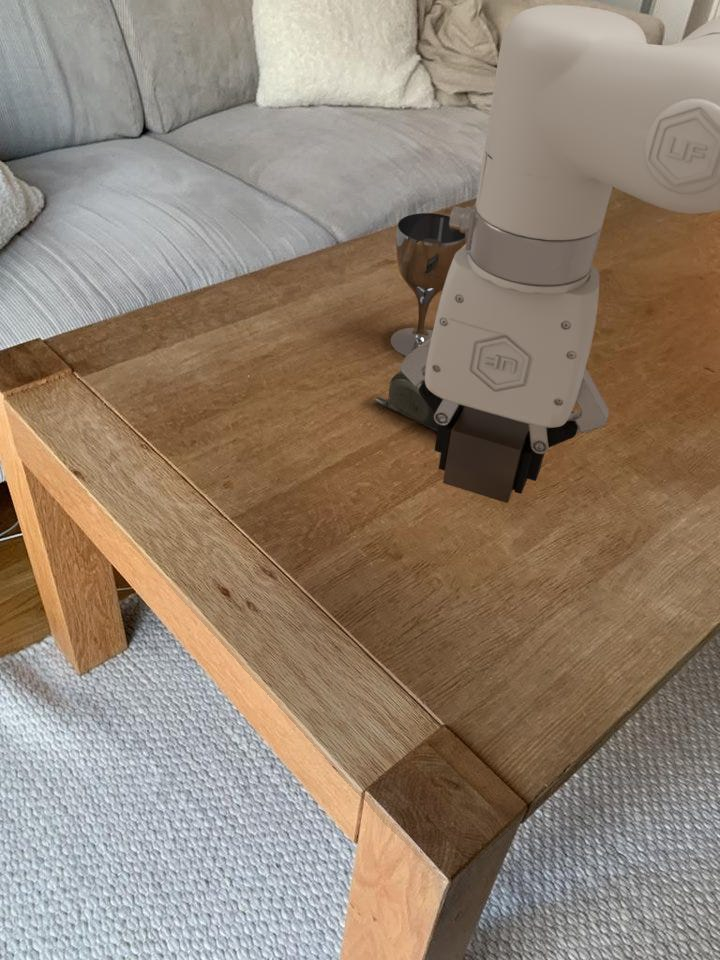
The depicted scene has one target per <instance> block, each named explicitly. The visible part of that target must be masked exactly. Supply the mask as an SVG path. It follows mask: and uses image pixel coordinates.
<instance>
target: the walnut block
mask: <svg viewBox="0 0 720 960" xmlns="http://www.w3.org/2000/svg"><path fill="white" fill-rule="evenodd" d="M528 437H529V425H528V424H527V423H523V422H520V421H516V420H513V419H509V418H505V417H502V416H498V415H495V414H491V413H488V412H484V411H481V410H477V409H474V408H470V407H467V406H465V407H464V409H463V410H462V412H461V414H460V416H459V418H458V419H457V421H456V423H455V425H454V427H453V429H452V431H451V437H450V443H449V448H448V454H447V460H446V466H445V471H444V473H443V477H442V478H443V479H442V484H444V485H447V486H451V487H453V488H457V489H461V490H464V491H466V492H470V493H473V494H477V495H479V496H483V497H485V498H490V499H493V500H496V501H498V502H502V503H505V504H509V502H510V499H511V497H512V495H513V492H514V490H513V487H514V483H515V479H516V475H517V471H518V467H519V462H520V458H521V454H522V451H523V448H524V446H525V444H526V441H527V439H528Z"/></svg>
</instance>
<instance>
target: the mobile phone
mask: <svg viewBox="0 0 720 960" xmlns="http://www.w3.org/2000/svg"><path fill="white" fill-rule="evenodd" d="M374 403H377V404H379V405H381V406H383V407H385V408H388V409H391V410H392V411H395V412H398V413H399V414H401V415H403V416H405V417H407V418H408V419H412V420H414V421H415V422H417V423H419V424H421V425H423V426H425V427H427V428H429V429H432V430H434V431H436V432H437V431H438V423H436V421H435V420H434V414H435V413H434V412H433V411H432V409H431V408H430V407H429V405H428V404H427V403H426V401H425V400H424V399H423V397H422V396H421V395H420V393H419V388H418V387H417V386H414V385H413V384H412V383H411V381H410V380H409V379H408V378H407V377H406V376H405V375H404V374H403V373H402V372H401V371H399V372H397V373H396V374H395V375H393V377H391V380H390V382H389V386H388V398H387V399H384V398H382V397H379V396H377V397H376V398H375V399H374ZM462 406H463V405H462ZM463 407H465V406H463Z"/></svg>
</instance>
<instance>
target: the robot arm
mask: <svg viewBox="0 0 720 960" xmlns="http://www.w3.org/2000/svg"><path fill="white" fill-rule="evenodd" d="M647 41H648V39H647V37H646V34H645V33H644V31H643V29H642V28H641V27H640V25H639V24H638V23H637V22H635V20H632V19H630V18H628V17H626V16H624V15H622V14H621V13H618V12H617V13H616V12H613V11H611V10H606V9H601V8H596V7H590V6H583V5H571V4H545V5H538V6H537V5H536V6H534V7H530V8H527V9H524V10H522V11H520V12H519V13H517V14H516V15H515V16H514V17H513V18H512V19H511V21H510V22H509V23H508V24H507V26H506V27H505V30H504V32H503V35H502V39H501V42H500V43H501V44H500V48H499V53H498V59H497V65H496V70H495V71H496V72H495V78H494V85H493V89H492V90H493V91H492V97H491V103H490V111H489V117H488V124H487V131H486V136H485V142H484V148H483V155H482V161H481V162H482V163H481V169H480V174H479V182H478V188H477V193H476V199H475V202H474V203H473V204H472V206H465V207H460V206H456V205H455V206H453V208H452V210H451V212H450V216H449V217H450V220H449V228H452V229H456V230H460V233H464V234H465V239H467V243H466V244H465V245H464V246H463V247H462V248H461V249H460V250H458V251H457V252H456V254H455V256H454V258H453V260H452V263H451V266H450V268H449V271H448V274H447V278H446V281H445V284H444V287H443V290H442V291H441V295H440V299H439V303H438V306H437V311H436V314H435V315H436V316H435V319H434V324H433V330H432V331H433V333H432V337H431V338H429V339H428V340H427V341H425V342H424V343H423V344H421V345H420V346H419V347H417V348H416V349H415V350H413V351H412V352H411V353H409V354H408V355H407V356H405V357H404V358H403V360H402V361H401V363H400V364H399V370H400V372H402V373H403V374H404V375H405V376H406V377H407V378H408V379H409V380H410V381H411V383H412V384H413V385H414V386H417V387H418V388H419V393H420V395H421V396H422V397H423V399H424V400H425V401H426V403H427V404H428V405H429V407H430V408H431V409H432V411H433V412H434V413H435V414H434V420H435V421H436V423H438V431H436V436H435V437H436V438H435V444H434V451H435V452H438V453H440V456H439V463H438V470H441V471H444V472H445V466H446V460H447V454H448V448H449V443H450V437H451V431H452V429H453V427H454V425H455V423H456V421H457V419H458V418H459V416H460V414H461V412H462V410H463V409H464V407H463V406H467V407H470V408H474V409H477V410H481V411H484V412H488V413H491V414H495V415H498V416H502V417H505V418H509V419H513V420H516V421H520V422H523V423H527V424H528V425H529V437H528V439H527V441H526V444H525V446H524V448H523V451H522V454H521V458H520V462H519V467H518V471H517V475H516V479H515V483H514V487H513V491H514V493H516V494H519V495H522V493H523V491H524V489H525V486H526V484H527V481H528V480H531V481H534V482H537V480H538V476H539V475H540V470H541V468H542V463H543V460H544V457H545V454H546V453H547V452H548V450H549V448H551V447H554V446H556V445H559V444H561V443H563V442H566V441H569V440H571V439H573V438H575V436H576V435H579V434H585V433H588V432H592V431H595V430H598V429H602V428H604V427H605V426H606V425H607V422H608V419H609V416H610V409H609V408H608V406H607V403H606V402H605V400H604V398H603V396H602V395H601V393H600V391H599V389H598V387H597V385H596V384H595V381H594V380H593V378H592V375H591V374H590V372H589V370H588V369H587V368H588V367H587V366H588V363H589V358H590V353H591V348H592V344H593V338H594V333H595V327H596V322H597V314H598V306H599V298H600V271H599V270H598V269H597V267H596V266H595V265H594V260H595V256H596V253H597V249H598V244H599V241H600V238H601V233H602V229H603V226H604V220H605V217H606V213H607V210H608V205H609V202H610V197H611V195H612V191H613V188H615V189H617V190H619V191H621V192H622V193H625V194H627V195H630V196H632V197H634V198H636V199H637V200H641V201H643V202H645V203H647V204H649V205H652V206H655V207H656V208H657V207H658V208H660V209H663V210H667V211H670V212H674V213H680V214H681V213H682V214H689V215H691V214H692V215H699V214H707V213H713V212H718V211H720V15H718V16H716V17H713V18H712V19H710V20H708V21H707V22H705V23H704V24H702V25H700V26H699V27H697V28H696V29H695V30H694V31H692V32H691V33H690V34H689V35H688V36H686V37H685V38H683V39H682V40H681V41H680V42H677V43H673V44H667V45H663V44H662V45H661V44H652V43H648V42H647ZM576 404H577V405H578V407H579V409H577V410H576V411H573V410H574V408H575V405H576ZM462 405H463V406H462Z"/></svg>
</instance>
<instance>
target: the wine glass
mask: <svg viewBox="0 0 720 960" xmlns="http://www.w3.org/2000/svg"><path fill="white" fill-rule="evenodd" d="M449 220H450V216H448V215H445V214H440V213H433V212H432V213H431V212H421V213H413V214H409V215H407V216H404V217H402V218H401V219H400V220H399V221H398V223H397V228H396V229H397V230H396V239H395V241H396V243H395V250H396V251H395V253H396V262H397V268H398V271H399V274H400V276H401V278H402V280H403V282H405V284H406V285H407V286H408V287H409V289H411V291H412V292H413V294H414V296H415V297H416V300H417V305H418V308H417V309H418V319H417V320H418V322H417V327H406V328H402V329H399V330H397V331H395V332H394V333H393V334H392V335H391V337H390V339H389V342H390V346H391V347H392V348H393V349H394V350H395V351H396V352H397V353H399V354H401V355H402V356H405V357H406V356H407V355H408V354H409V353H411V352H412V351H413V350H415V349H416V348H417V347H419V346H420V345H421V344H423V343H424V342H425V341H427V340H428V339H429V338H431V337H432V333H433V330H432V329H428V328H425V323H426V317H427V314H428V309H429V306H430V304H431V302H432V300H433V299H434V298H435V297H436V295H438V294H439V293H441V292H442V291H443V287H444V284H445V281H446V278H447V274H448V271H449V268H450V266H451V263H452V260H453V258H454V256H455V254H456V252H457V251H458V250H460V249H461V248H462V247H463V246H464V245H465V244H467V239H465V234H464V233H460V230H456V229H452V228H449Z"/></svg>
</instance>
